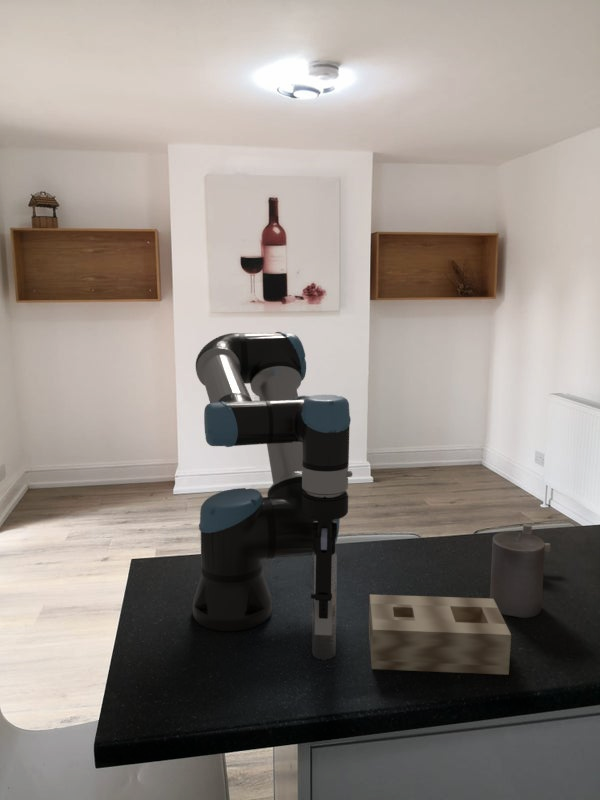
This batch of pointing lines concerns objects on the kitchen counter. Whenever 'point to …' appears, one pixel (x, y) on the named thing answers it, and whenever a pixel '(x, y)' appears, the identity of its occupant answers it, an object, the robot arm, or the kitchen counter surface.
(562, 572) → the kitchen counter surface
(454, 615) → the hole block
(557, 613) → the kitchen counter surface
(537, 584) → the pillar candle
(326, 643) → the pin
